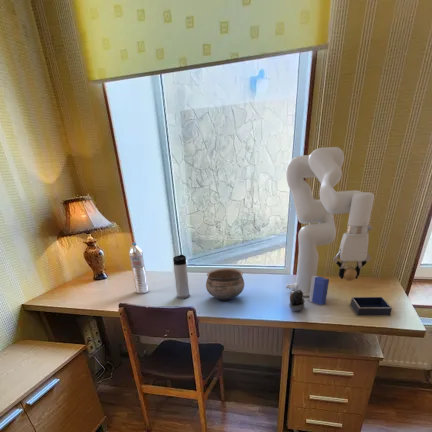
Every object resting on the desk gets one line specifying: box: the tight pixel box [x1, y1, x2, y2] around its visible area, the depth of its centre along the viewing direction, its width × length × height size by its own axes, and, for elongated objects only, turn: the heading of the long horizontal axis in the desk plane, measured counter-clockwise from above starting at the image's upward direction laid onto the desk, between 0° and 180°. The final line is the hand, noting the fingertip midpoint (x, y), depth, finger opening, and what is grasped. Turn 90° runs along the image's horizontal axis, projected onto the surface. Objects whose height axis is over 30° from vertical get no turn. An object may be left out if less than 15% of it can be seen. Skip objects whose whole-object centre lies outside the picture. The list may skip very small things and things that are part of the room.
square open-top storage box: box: [349, 296, 393, 317], centre depth 145 cm, size 13×13×4 cm
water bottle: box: [128, 242, 149, 295], centre depth 172 cm, size 7×7×25 cm
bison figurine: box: [289, 289, 306, 312], centre depth 148 cm, size 12×7×10 cm, turn 170°
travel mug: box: [172, 254, 190, 300], centre depth 165 cm, size 6×7×20 cm
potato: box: [343, 265, 357, 282], centre depth 135 cm, size 5×8×5 cm, turn 175°
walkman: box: [308, 275, 330, 306], centre depth 153 cm, size 8×3×12 cm, turn 32°
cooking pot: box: [205, 268, 245, 301], centre depth 163 cm, size 25×19×12 cm
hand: (348, 277), depth 136 cm, fingers closed on potato, 5 cm apart
